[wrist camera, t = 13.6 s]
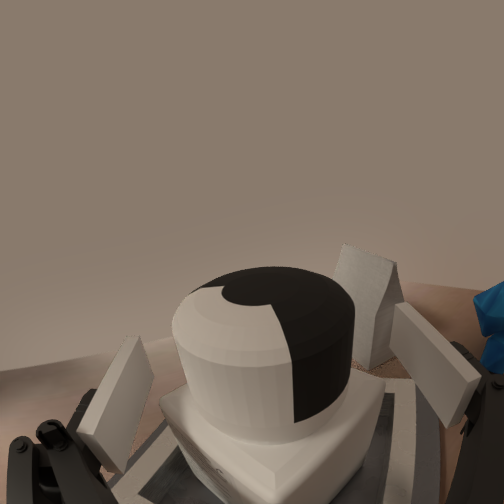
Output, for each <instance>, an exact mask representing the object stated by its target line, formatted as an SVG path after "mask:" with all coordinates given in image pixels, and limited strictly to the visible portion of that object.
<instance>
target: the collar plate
mask: <svg viewBox="0 0 504 504" xmlns="http://www.w3.org/2000/svg"><path fill="white" fill-rule="evenodd" d="M382 379H383V380H385V382H386V388H385V393H384V397H383V401H382V405H381V409H380V412H379V416H378V420H377V423H376V427H375V430H374V434H373V437H372V440H371V443H370V446H369V449H368V453H367V455H366V458H365V461H364V463H363V464H362V466H361V467H360V468H359V469H358V471H357V472H356V473H355V474H354V476H353V477H352V478H351V479H350V480H349V482H348V483H347V484H346V485H345V486H344V487H343V489H342V490H341V491H340V492H339V493H338V494H337V495H336V496H335V497H334V499H333V500H332V501H331V502H330V503H329V504H439V491H440V432H439V417H438V415H437V414H436V413H435V411H434V410H433V408H432V407H431V405H430V404H429V402H428V401H427V399H426V398H425V396H424V395H423V393H422V392H421V391H420V389H419V388H418V386H417V385H416V383H415V382H414V381H413V379H397V378H382ZM107 484H108V486H109V488H110V490H111V491H112V493H113V495H114V496H115V498H116V500H117V501H118V503H119V504H225V503H224V502H223V501H222V500H220V499H219V498H218V497H217V496H216V495H215V494H214V493H213V492H212V491H210V490H209V489H208V488H207V487H206V486H205V485H204V484H203V483H202V482H201V481H200V480H199V479H198V478H197V477H196V476H195V475H194V473H193V471H192V470H191V468H190V466H189V464H188V462H187V460H186V459H185V457H184V455H183V453H182V451H181V449H180V447H179V445H178V443H177V441H176V439H175V437H174V435H173V433H172V431H171V429H170V427H169V425H168V423H167V421H166V419H165V420H164V421H163V422H162V423H161V424H160V425H159V427H158V428H157V429H156V430H155V431H154V432H153V433H152V434H151V436H150V437H149V438H148V439H147V440H146V441H145V442H144V443H143V444H142V446H141V447H140V448H139V449H138V450H137V451H136V452H135V453H134V454H133V455H132V457H131V458H130V459H129V460H128V461H127V465H126V468H125V472H124V475H123V474H117V473H116V474H115V475H114V476H113V477H112V478H111V479H110V480H109V481H108V482H107Z"/></svg>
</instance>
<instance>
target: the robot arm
mask: <svg viewBox="0 0 504 504" xmlns="http://www.w3.org/2000/svg"><path fill="white" fill-rule="evenodd" d="M389 347H390V349H391V350H392V351H393V353H394V354H395V355H396V357H397V358H398V360H399V361H400V362H401V364H402V365H403V367H404V368H405V369H406V371H407V372H408V374H409V375H410V376H411V378H412V379H413V381H414V382H415V383H416V385H417V386H418V388H419V389H420V391H421V392H422V393H423V395H424V396H425V398H426V399H427V401H428V402H429V404H430V405H431V407H432V408H433V410H434V411H435V413H436V414H437V415H438V417H439V418H440V420H441V422H442V423H443V425H444V426H445V428H446V429H448V428H450V427H452V426H454V425H456V424H458V423H460V421H461V419H462V417H463V415H464V413H465V414H466V416H467V417H468V419H467V421H466V423H465V425H464V427H463V428H462V430H461V432H460V434H461V435H462V433H463V432H464V436H463V441H462V446H461V450H460V455H459V459H458V463H457V467H456V470H455V474H454V478H453V481H452V484H451V488H450V491H449V494H448V497H447V500H446V503H445V504H503V500H504V375H501V374H493V375H492V374H491V373H490V372H489V371H488V370H487V369H486V368H485V367H484V366H483V365H482V364H481V363H480V362H479V361H478V360H477V359H476V358H474V356H473V355H472V354H471V353H469V351H468V350H467V349H466V348H465V347H464V346H463V345H461V344H459V343H457V342H455V341H453V342H450V343H449V342H448V341H447V340H446V339H445V338H444V337H443V336H442V335H441V334H440V333H439V332H438V331H437V330H436V329H435V328H434V327H433V326H432V325H431V324H430V323H429V322H428V321H427V320H426V319H425V318H424V317H423V316H422V315H421V314H420V313H419V312H418V311H417V310H415V309H414V308H413V307H412V306H411V305H410V304H409V303H408V302H403V303H399V304H395V309H394V317H393V325H392V332H391V339H390V345H389ZM153 379H154V375H153V372H152V369H151V367H150V364H149V361H148V359H147V356H146V353H145V350H144V347H143V344H142V341H141V338H140V336H126V338H125V340H124V342H123V343H122V345H121V347H120V349H119V350H118V352H117V354H116V356H115V358H114V359H113V361H112V363H111V365H110V367H109V368H108V370H107V372H106V374H105V376H104V378H103V380H102V381H101V383H100V385H99V387H98V389H90V390H89V391H88V392H87V393H86V394H85V395H84V396H83V397H82V399H81V401H80V403H79V405H78V407H77V408H76V412H74V414H73V416H72V418H71V420H70V422H69V424H68V425H67V427H66V429H65V427H64V426H63V425H62V423H61V422H60V421H58V420H53V419H51V420H47V421H45V422H43V423H41V425H40V426H39V427H38V428H37V430H36V437H37V438H38V440H39V441H40V442H41V443H42V444H34V443H33V442H32V441H31V439H30V438H28V437H26V436H20V437H17V438H16V439H14V440H13V441H12V443H11V444H10V447H9V456H8V469H7V504H119V503H118V501H117V500H116V498H115V496H114V495H113V493H112V491H111V490H110V488H109V486H108V484H107V482H106V481H105V479H104V477H103V475H102V474H101V473H100V468H101V465H102V466H103V467H104V468H105V469H106V470H107V472H111V473H117V474H123V475H124V472H125V468H126V465H127V461H128V458H129V454H130V451H131V448H132V444H133V441H134V438H135V434H136V431H137V428H138V425H139V422H140V419H141V415H142V412H143V409H144V406H145V403H146V400H147V397H148V394H149V391H150V388H151V385H152V382H153Z"/></svg>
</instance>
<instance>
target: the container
mask: <svg viewBox="0 0 504 504" xmlns="http://www.w3.org/2000/svg"><path fill="white" fill-rule="evenodd" d="M354 325H355V305H354V302H353V300H352V298H351V297H350V295H349V294H348V293H347V292H346V291H345V290H344V289H343V288H342V286H341V285H340V284H338V283H337V282H336V281H334V280H332V279H330V278H328V277H326V276H324V275H321V274H317V273H314V272H310V271H307V270H303V269H298V268H291V267H259V268H251V269H245V270H240V271H236V272H233V273H229V274H226V275H223V276H221V277H218V278H216V279H214V280H212V281H210V282H208V283H206V284H205V285H202V286H201V287H199V288H197V289H196V290H194V291H193V292H191V293H190V294H189V295H188V296H187V297H186V298H185V299H184V300H183V301H182V303H181V304H180V305H179V308H178V309H177V311H176V313H175V315H174V317H173V320H172V332H173V336H174V339H175V343H176V346H177V350H178V353H179V357H180V360H181V363H182V367H183V370H184V373H185V376H186V379H187V383H186V384H184V385H182V386H180V387H179V388H177V389H175V390H173V391H171V392H169V393H168V394H166V395H164V396H162V397H161V398H160V400H159V405H160V407H161V410H162V412H163V414H164V416H165V418H166V421H167V423H168V425H169V427H170V429H171V431H172V433H173V435H174V437H175V439H176V441H177V443H178V445H179V447H180V449H181V451H182V453H183V455H184V457H185V459H186V460H187V462H188V464H189V466H190V468H191V470H192V471H193V473H194V475H195V476H196V477H197V478H198V479H199V480H200V481H201V482H202V483H203V484H204V485H205V486H206V487H207V488H208V489H209V490H210V491H212V492H213V493H214V494H215V495H216V496H217V497H218V498H219V499H220V500H222V501H223V502H224V503H225V504H329V503H330V502H331V501H332V500H333V499H334V497H335V496H336V495H337V494H338V493H339V492H340V491H341V490H342V489H343V487H344V486H345V485H346V484H347V483H348V482H349V480H350V479H351V478H352V477H353V476H354V474H355V473H356V472H357V471H358V469H359V468H360V467H361V466H362V464H363V463H364V461H365V458H366V455H367V453H368V449H369V446H370V443H371V440H372V437H373V434H374V430H375V427H376V423H377V420H378V416H379V412H380V409H381V405H382V401H383V397H384V393H385V388H386V382H385V380H383V379H382V378H379V377H377V376H374V375H371V374H368V373H365V372H363V371H360V370H357V369H355V368H352V367H351V361H352V351H353V339H354Z"/></svg>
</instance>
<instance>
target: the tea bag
mask: <svg viewBox="0 0 504 504" xmlns="http://www.w3.org/2000/svg"><path fill="white" fill-rule="evenodd" d="M332 280H334V281H336V282H337V283H338V284H340V285H341V286H342V288H343V289H344V290H345V291H346V292H347V293H348V294H349V295H350V297H351V298H352V300H353V302H354V305H355V325H354V339H353V351H352V358H353V359H354V360H356V361H357V362H358V363H359V364H360V365H362V366H363V367H364V368H365V369H367V370H368V371H369V370H371V369H373V368H375V367H377V366H378V365H380V364H382V363H384V362H386V361H387V360H389V359H391V358H393V357H394V356H396V355H395V354H394V353H393V351H392V350H391V349H390V347H389V345H390V339H391V332H392V325H393V317H394V309H395V304H399V303H403V302H404V298H403V294H402V290H401V286H400V283H399V278H398V273H397V264H396V262H394V261H392V260H389V259H386V258H384V257H381V256H378V255H376V254H373V253H370V252H368V251H365V250H362V249H359V248H357V247H354V246H351V245H348V244H346V245H344V244H343V245H342V251H341V255H340V258H339V261H338V264H337V267H336V270H335V273H334V275H333V278H332Z"/></svg>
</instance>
